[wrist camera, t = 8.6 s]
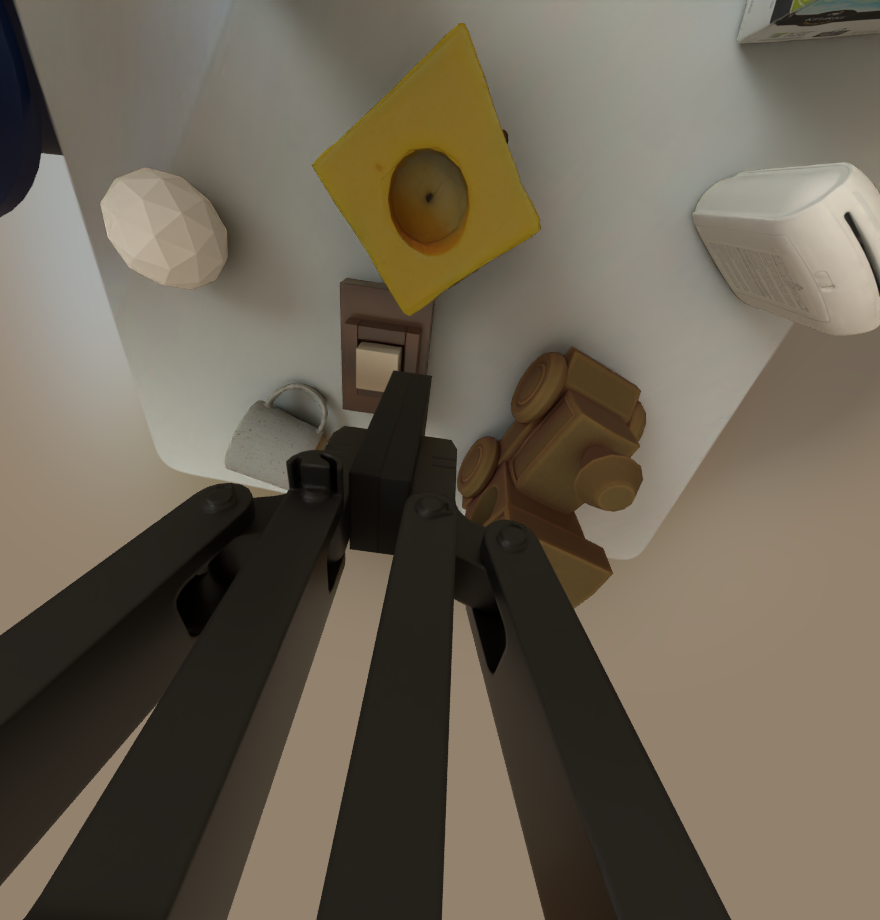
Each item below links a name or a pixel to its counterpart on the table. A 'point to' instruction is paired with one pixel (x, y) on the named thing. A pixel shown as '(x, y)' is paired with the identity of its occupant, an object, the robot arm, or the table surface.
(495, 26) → the table surface
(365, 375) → the beige square block
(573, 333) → the table surface
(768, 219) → the photo printer
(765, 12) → the tea box
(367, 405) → the brown stepped block
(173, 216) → the geometric ball
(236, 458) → the ceramic mug
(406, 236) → the candle
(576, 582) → the wooden toy train
